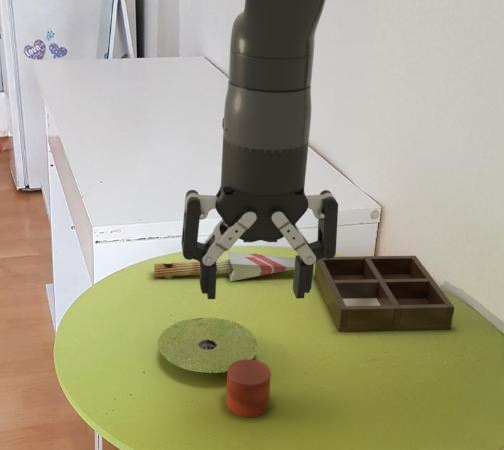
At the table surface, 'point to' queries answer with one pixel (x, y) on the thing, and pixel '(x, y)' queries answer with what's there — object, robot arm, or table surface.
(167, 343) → the green disc
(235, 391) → the red cylinder
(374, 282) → the grid
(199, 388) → the table surface
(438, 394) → the table surface
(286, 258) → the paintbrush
